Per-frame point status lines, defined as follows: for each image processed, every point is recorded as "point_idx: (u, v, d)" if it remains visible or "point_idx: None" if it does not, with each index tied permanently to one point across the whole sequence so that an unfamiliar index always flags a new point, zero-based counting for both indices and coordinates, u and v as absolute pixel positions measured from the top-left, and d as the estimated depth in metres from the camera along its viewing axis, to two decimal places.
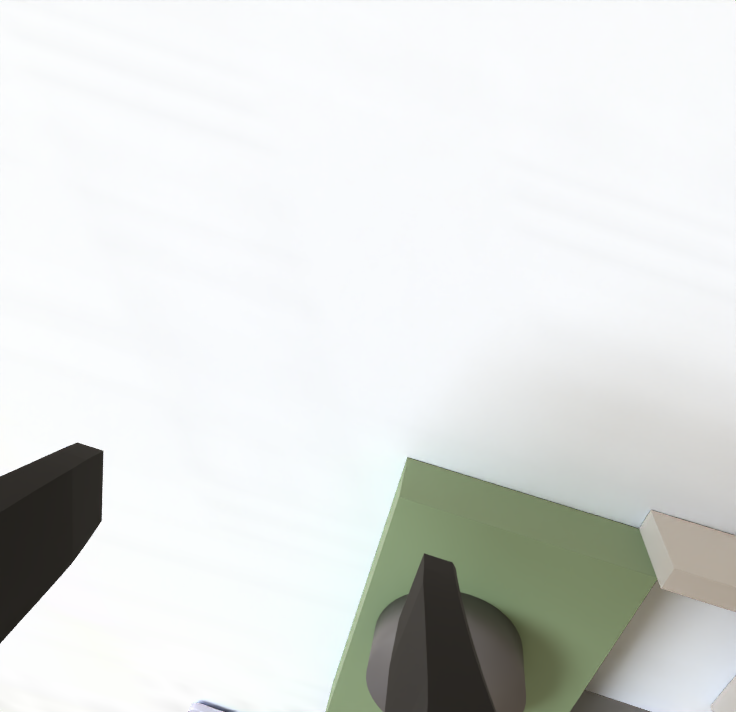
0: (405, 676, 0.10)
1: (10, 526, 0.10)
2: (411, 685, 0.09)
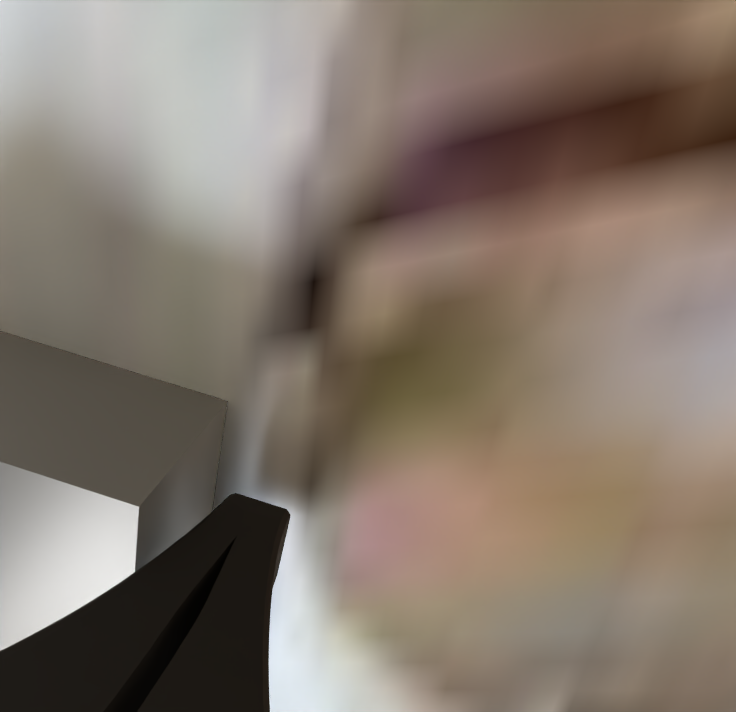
0: None
1: (204, 590, 0.09)
2: None
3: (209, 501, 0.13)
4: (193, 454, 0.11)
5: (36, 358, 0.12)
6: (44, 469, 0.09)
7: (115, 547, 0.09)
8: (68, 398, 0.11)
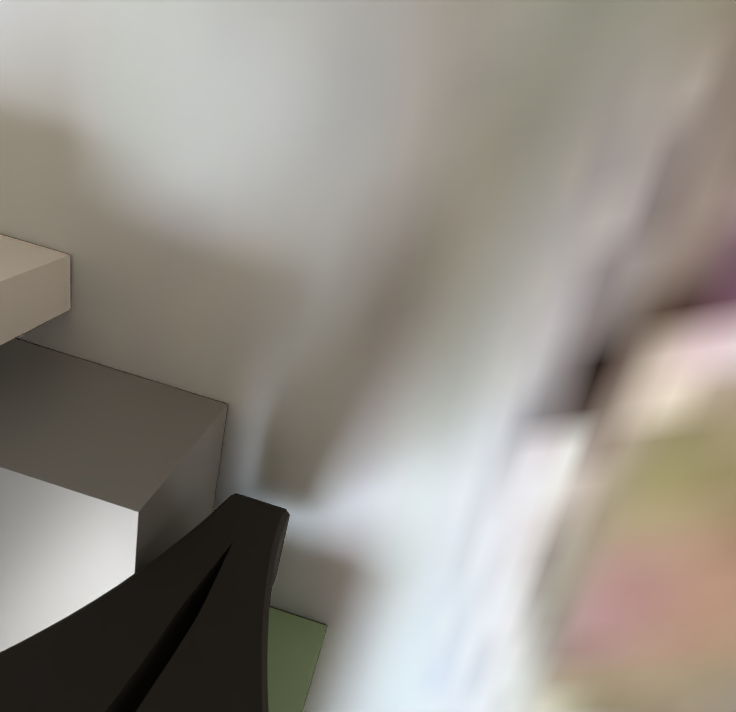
0: None
1: (205, 591, 0.09)
2: None
3: (209, 505, 0.13)
4: (193, 458, 0.11)
5: (35, 362, 0.12)
6: (43, 475, 0.09)
7: (115, 553, 0.09)
8: (67, 402, 0.11)
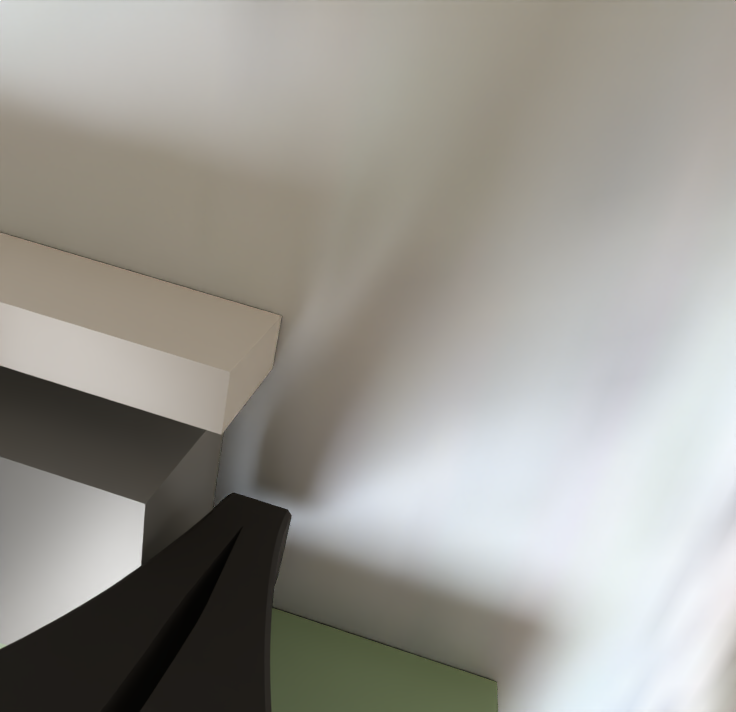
0: None
1: (202, 590, 0.09)
2: None
3: (213, 498, 0.13)
4: (197, 452, 0.11)
5: None
6: (52, 468, 0.09)
7: (121, 544, 0.10)
8: (75, 397, 0.11)
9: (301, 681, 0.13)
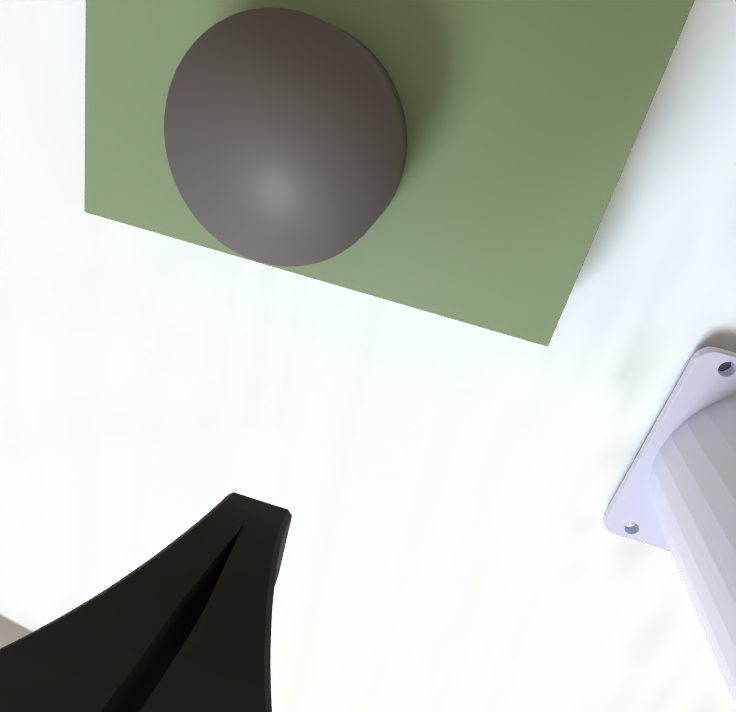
0: None
1: (202, 589, 0.09)
2: None
3: None
4: None
5: None
6: None
7: None
8: None
9: None
